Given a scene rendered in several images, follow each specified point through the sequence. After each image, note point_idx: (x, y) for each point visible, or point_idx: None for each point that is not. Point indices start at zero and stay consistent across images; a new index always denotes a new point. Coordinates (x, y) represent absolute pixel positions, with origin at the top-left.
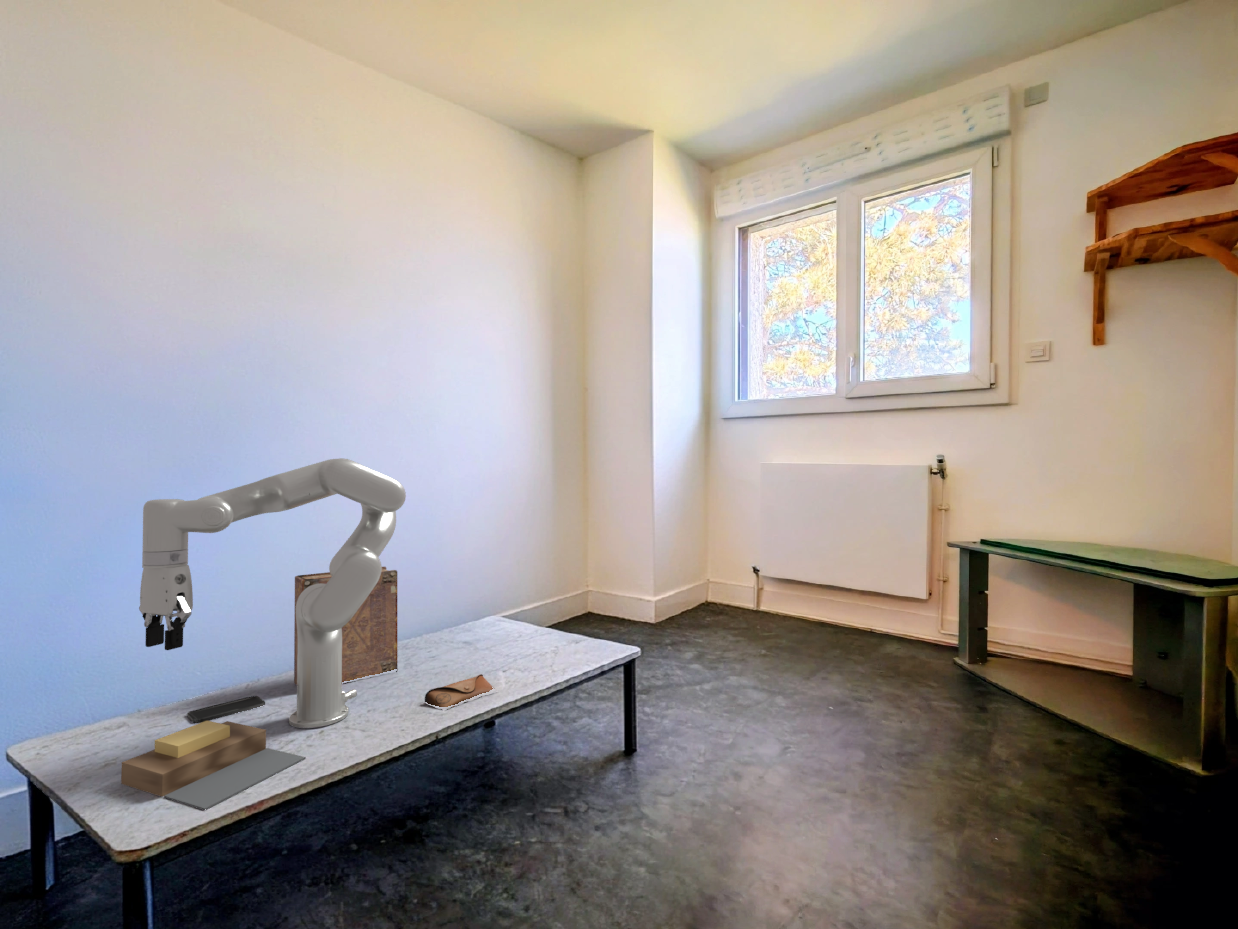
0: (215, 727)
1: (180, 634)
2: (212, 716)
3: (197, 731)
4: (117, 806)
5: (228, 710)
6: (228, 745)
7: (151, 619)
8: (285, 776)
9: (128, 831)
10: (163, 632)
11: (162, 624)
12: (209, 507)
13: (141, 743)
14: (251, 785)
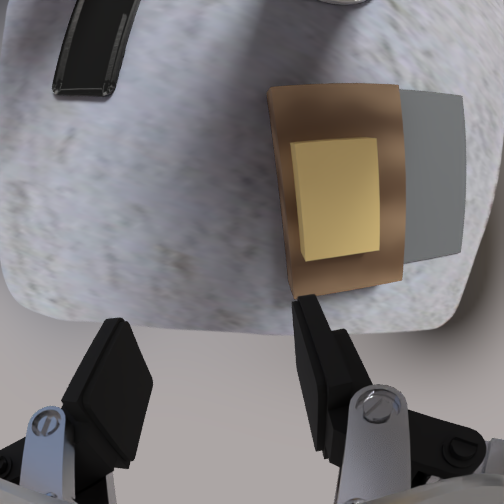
0: (358, 159)
1: (363, 368)
2: (118, 63)
3: (342, 191)
4: (355, 305)
5: (112, 31)
6: (403, 166)
7: (108, 502)
8: (477, 148)
9: (420, 314)
10: (107, 367)
11: (71, 406)
12: None
13: (126, 197)
14: (465, 189)
